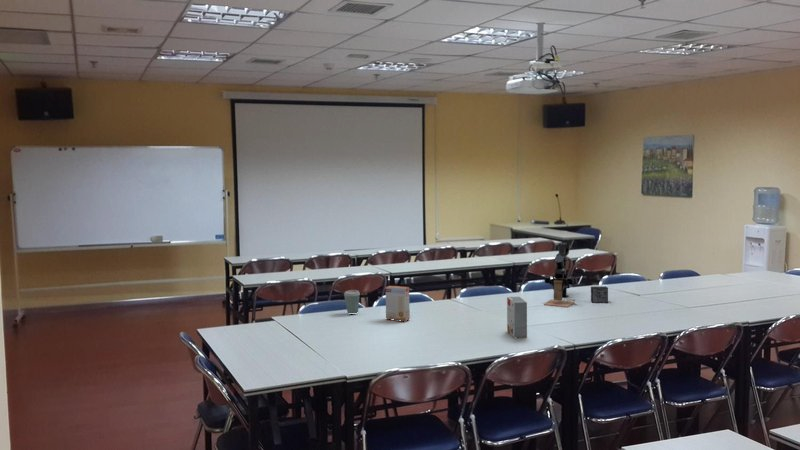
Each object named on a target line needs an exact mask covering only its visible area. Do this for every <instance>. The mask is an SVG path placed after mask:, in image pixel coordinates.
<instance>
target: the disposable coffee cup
mask: <svg viewBox="0 0 800 450" xmlns="http://www.w3.org/2000/svg"><path fill="white" fill-rule="evenodd" d="M360 295H361V293H360V291H359V290H357V289H349V290H346V291H344V293H343V296H344V302H345V308H346V311H347V314H348V313H357V312H358V313H359V305H360V297H361V296H360Z"/></svg>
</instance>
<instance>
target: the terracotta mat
mask: <svg viewBox="0 0 800 450" xmlns="http://www.w3.org/2000/svg"><path fill="white" fill-rule="evenodd" d="M574 304H575V301H573V300H563V299H562V300H561V301H558V300H554V299H550V300H548V301H547V302H545V303H543V306H548V307H557V308H558V307H559V308H569V307H571V306H573V305H574Z"/></svg>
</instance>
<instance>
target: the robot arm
mask: <svg viewBox="0 0 800 450" xmlns="http://www.w3.org/2000/svg"><path fill="white" fill-rule="evenodd" d="M557 250H558V253H557V254H556V256H554V261H553V262H554V265H555V269H554V274H553V275H554V276H551V275H544V283H545V284H549V285H551V286H552V290H553V291H554V280H563V283H562V298H567V297H568V296H569V294H567V291H568V289H570V285H574V277H573V276H569V275H568V276H567V263H568V258H567V257H568V255H569V254H570V251H571V244H570V243H567V242H559V243H557Z"/></svg>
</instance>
